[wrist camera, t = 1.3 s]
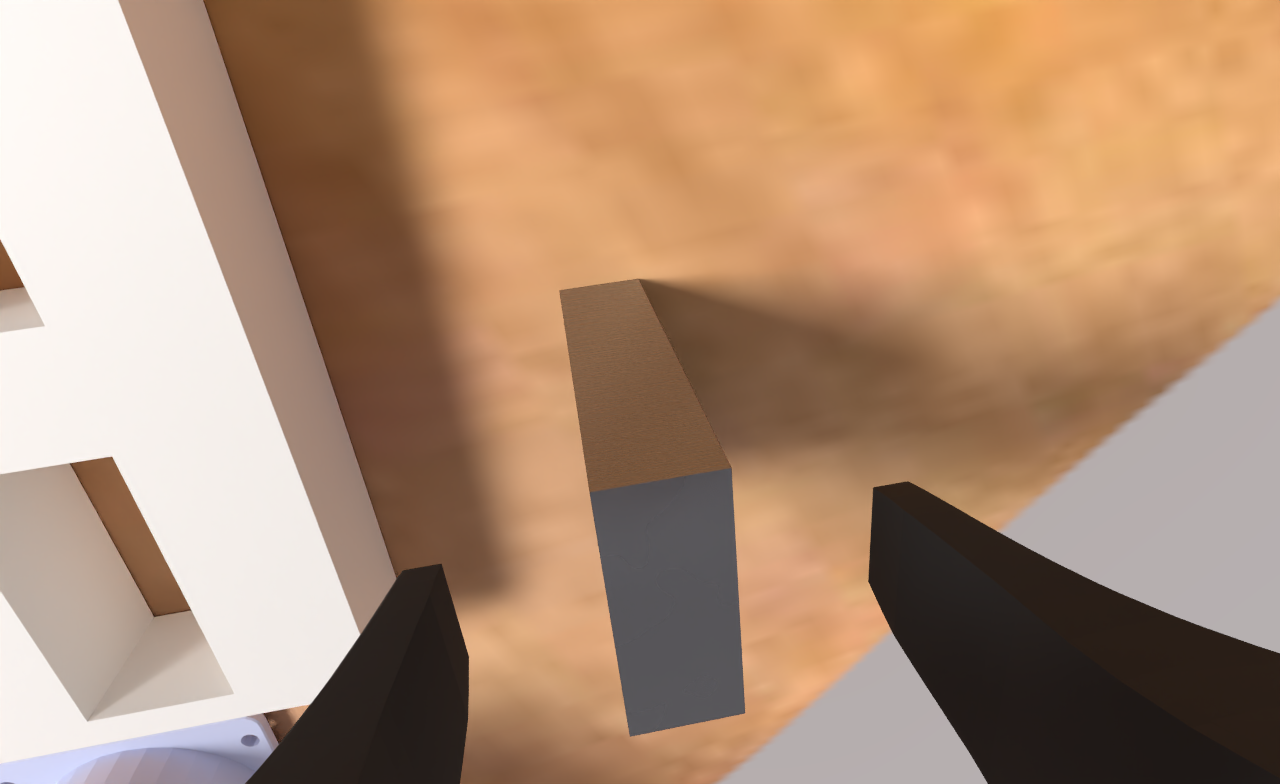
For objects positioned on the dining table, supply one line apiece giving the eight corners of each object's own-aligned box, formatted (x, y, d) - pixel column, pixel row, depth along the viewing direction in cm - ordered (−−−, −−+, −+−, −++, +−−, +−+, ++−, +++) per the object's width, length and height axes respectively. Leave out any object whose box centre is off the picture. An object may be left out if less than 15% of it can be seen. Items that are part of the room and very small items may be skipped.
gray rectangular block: (656, 448, 20) (745, 713, 12) (587, 460, 20) (629, 736, 12) (638, 278, 18) (730, 467, 10) (559, 290, 18) (589, 492, 10)
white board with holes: (401, 594, 21) (381, 690, 18) (43, 659, 20) (-43, 772, 17) (150, -158, 13) (35, -221, 10) (-464, -102, 12) (-802, -152, 9)
